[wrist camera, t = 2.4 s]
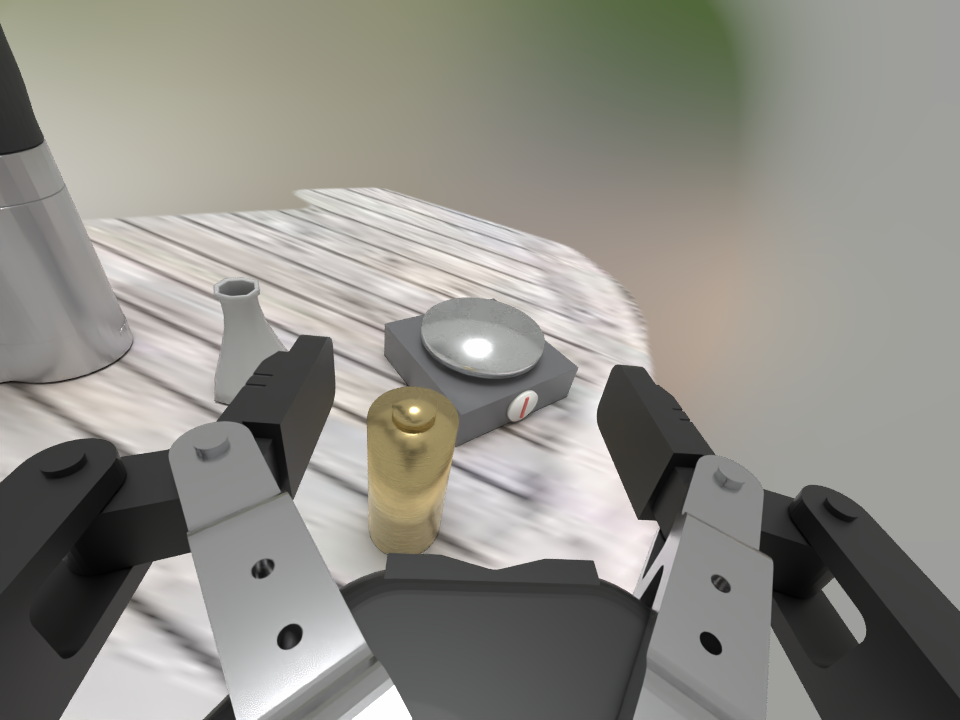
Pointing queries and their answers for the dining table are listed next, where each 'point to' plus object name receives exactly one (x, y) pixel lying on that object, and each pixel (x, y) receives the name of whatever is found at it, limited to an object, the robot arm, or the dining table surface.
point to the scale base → (477, 382)
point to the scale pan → (482, 338)
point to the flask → (241, 336)
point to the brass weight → (408, 467)
